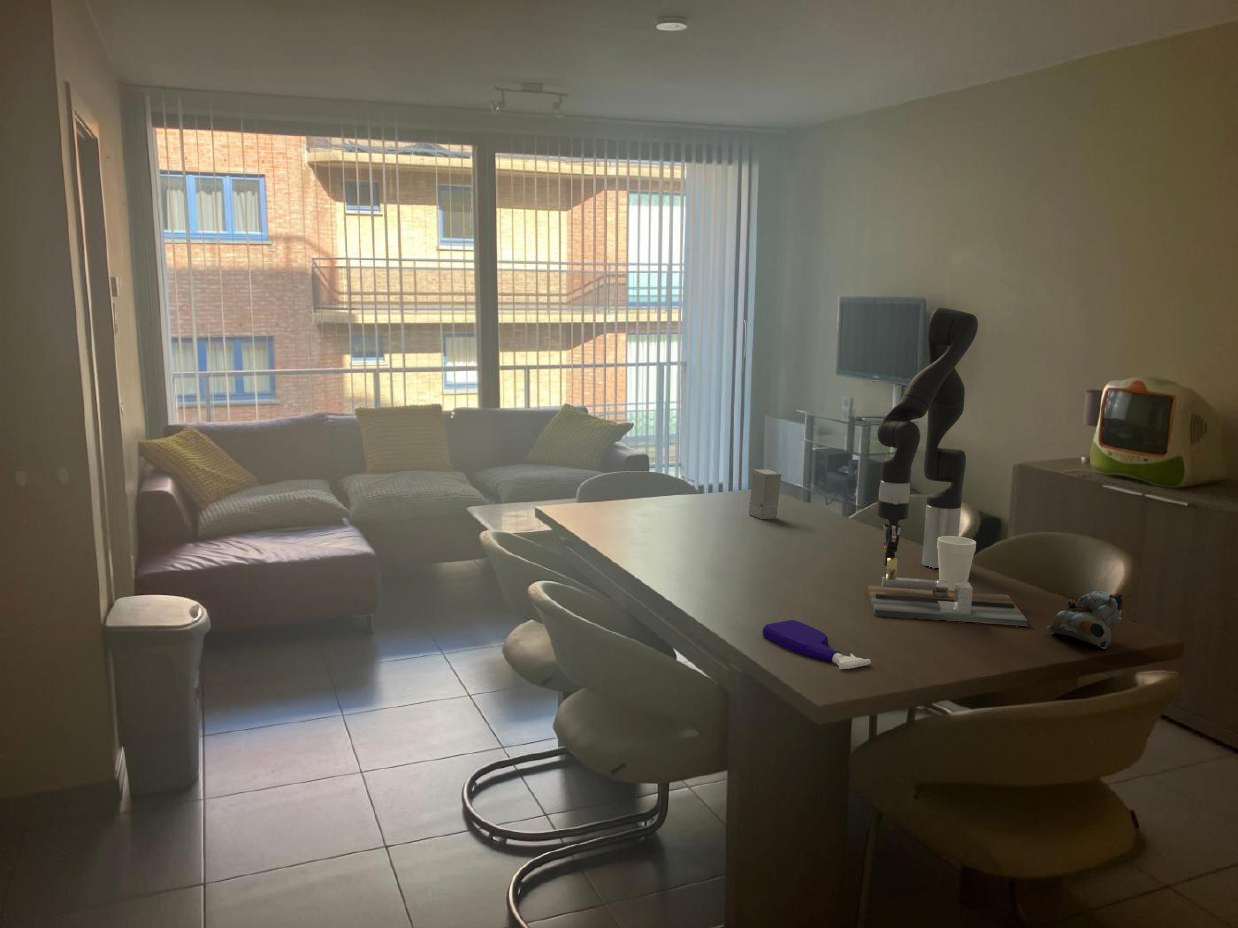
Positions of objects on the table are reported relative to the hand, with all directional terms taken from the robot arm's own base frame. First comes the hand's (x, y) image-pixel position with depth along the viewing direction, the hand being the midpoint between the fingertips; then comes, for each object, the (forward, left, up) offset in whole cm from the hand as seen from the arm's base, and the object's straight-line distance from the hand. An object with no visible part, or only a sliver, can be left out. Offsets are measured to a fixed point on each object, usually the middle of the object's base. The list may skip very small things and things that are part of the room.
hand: (889, 565), depth 252 cm
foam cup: (-6, +17, -7) cm, 19 cm away
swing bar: (+6, +6, -4) cm, 9 cm away
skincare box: (-82, -33, -7) cm, 89 cm away
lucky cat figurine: (+29, +39, -7) cm, 49 cm away
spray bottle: (+49, -19, -7) cm, 53 cm away
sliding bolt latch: (+12, +12, -7) cm, 18 cm away
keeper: (+18, +13, -5) cm, 23 cm away
